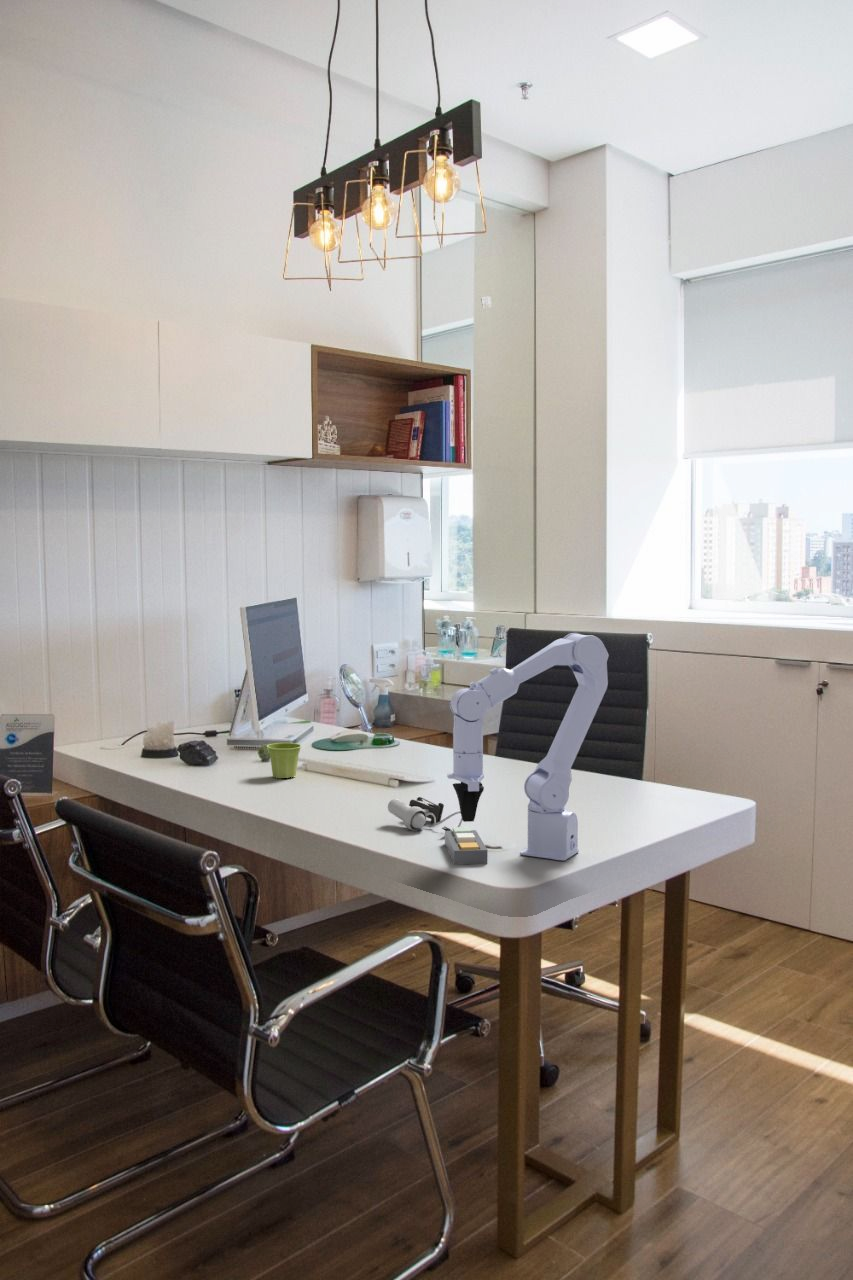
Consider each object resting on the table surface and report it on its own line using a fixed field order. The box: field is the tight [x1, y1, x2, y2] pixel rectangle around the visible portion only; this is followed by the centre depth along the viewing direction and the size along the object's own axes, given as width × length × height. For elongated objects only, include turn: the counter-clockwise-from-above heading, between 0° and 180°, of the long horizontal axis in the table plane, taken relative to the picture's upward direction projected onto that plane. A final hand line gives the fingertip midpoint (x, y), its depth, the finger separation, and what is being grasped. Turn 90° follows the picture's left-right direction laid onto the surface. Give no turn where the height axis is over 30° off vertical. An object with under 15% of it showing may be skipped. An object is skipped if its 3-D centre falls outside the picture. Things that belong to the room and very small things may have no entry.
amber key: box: [459, 842, 479, 850], centre depth 203 cm, size 3×3×2 cm
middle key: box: [456, 833, 475, 843], centre depth 208 cm, size 3×3×2 cm
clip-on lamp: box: [387, 796, 463, 832], centre depth 229 cm, size 12×6×18 cm
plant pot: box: [266, 742, 302, 779], centre depth 285 cm, size 9×9×9 cm
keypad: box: [444, 829, 488, 865], centre depth 208 cm, size 15×6×3 cm, turn 6°
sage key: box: [452, 826, 472, 837], centre depth 213 cm, size 3×3×2 cm
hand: (468, 820), depth 204 cm, fingers closed
